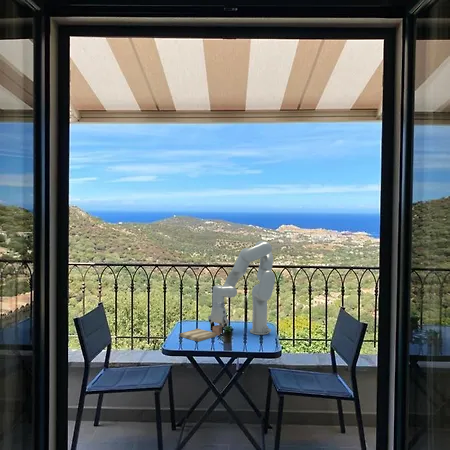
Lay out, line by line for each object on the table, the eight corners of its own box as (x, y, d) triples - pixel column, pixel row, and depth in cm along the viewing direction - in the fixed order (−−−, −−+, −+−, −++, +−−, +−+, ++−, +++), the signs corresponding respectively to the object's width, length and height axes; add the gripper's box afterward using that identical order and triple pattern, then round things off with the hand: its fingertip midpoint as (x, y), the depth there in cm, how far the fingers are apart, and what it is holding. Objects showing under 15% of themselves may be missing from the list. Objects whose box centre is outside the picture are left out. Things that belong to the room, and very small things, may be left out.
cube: (223, 334, 254) (223, 326, 254) (218, 335, 250) (218, 327, 250) (217, 332, 257) (217, 324, 257) (212, 334, 254) (212, 326, 254)
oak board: (216, 336, 248) (216, 333, 248) (198, 341, 236) (198, 338, 236) (198, 331, 259) (198, 328, 259) (180, 336, 246) (180, 333, 246)
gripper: (232, 306, 251) (232, 332, 251) (212, 302, 262) (212, 328, 262) (224, 307, 245) (224, 335, 245) (204, 303, 257) (204, 330, 257)
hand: (218, 331), depth 254 cm, fingers open, 9 cm apart
